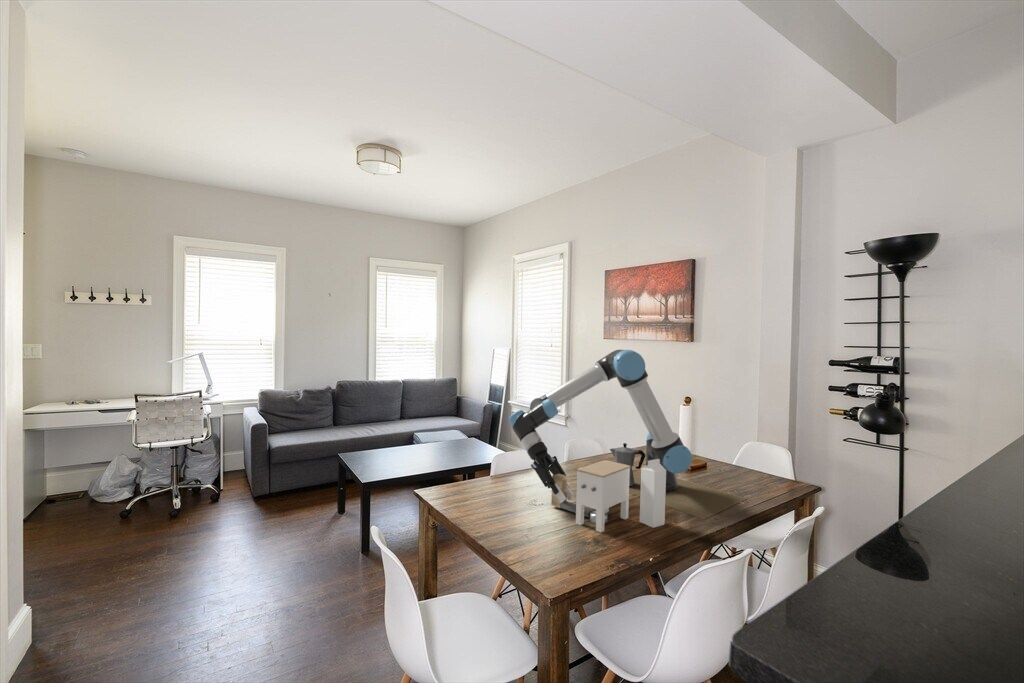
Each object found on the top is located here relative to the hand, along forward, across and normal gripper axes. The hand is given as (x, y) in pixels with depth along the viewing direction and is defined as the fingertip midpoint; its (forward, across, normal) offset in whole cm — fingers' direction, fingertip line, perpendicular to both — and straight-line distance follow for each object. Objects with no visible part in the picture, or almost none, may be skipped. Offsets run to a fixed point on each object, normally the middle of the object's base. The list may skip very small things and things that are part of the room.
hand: (567, 499), depth 167 cm
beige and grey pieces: (+4, 0, -1) cm, 4 cm away
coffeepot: (+2, -45, -4) cm, 46 cm away
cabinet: (+13, -1, +7) cm, 15 cm away
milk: (+22, -12, +16) cm, 30 cm away
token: (+12, 0, +6) cm, 14 cm away
